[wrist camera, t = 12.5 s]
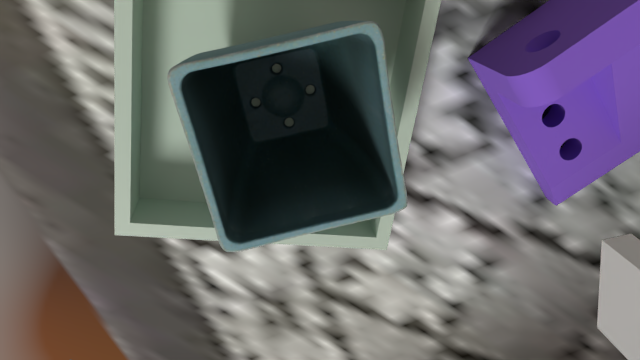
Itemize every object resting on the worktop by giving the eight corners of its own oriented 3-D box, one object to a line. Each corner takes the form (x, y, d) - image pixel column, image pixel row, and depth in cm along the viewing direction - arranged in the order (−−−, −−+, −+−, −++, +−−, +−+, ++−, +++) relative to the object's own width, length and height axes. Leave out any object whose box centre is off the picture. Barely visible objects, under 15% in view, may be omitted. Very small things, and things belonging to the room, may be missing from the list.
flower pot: (182, 34, 29) (161, 68, 21) (341, -2, 29) (381, 18, 21) (226, 179, 33) (223, 257, 24) (367, 145, 33) (410, 210, 25)
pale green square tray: (371, 219, 36) (386, 249, 32) (128, 203, 33) (114, 235, 30) (421, -28, 30) (446, -25, 27) (130, -74, 27) (114, -77, 24)
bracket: (465, 56, 33) (519, 82, 27) (563, -13, 32) (641, -3, 26) (544, 196, 38) (604, 245, 31) (630, 139, 37) (710, 178, 31)
